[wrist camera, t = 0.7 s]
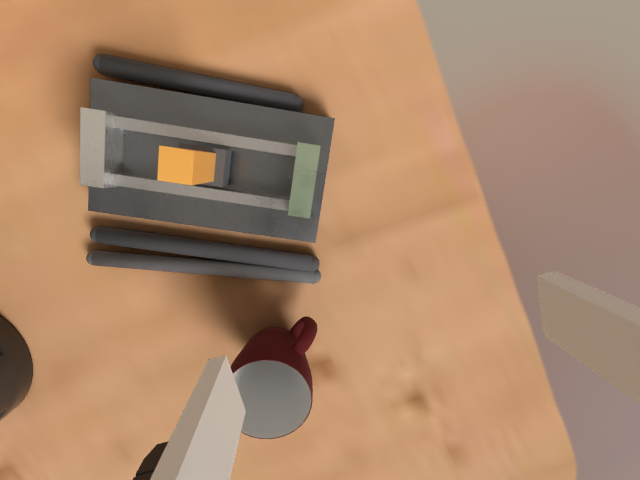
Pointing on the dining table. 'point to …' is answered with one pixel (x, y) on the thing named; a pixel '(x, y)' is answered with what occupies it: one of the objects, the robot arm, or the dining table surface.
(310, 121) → the gray slotted base
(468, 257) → the dining table surface
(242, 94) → the cord
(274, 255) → the grey rod
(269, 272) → the cord
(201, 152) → the lever
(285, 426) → the mug
